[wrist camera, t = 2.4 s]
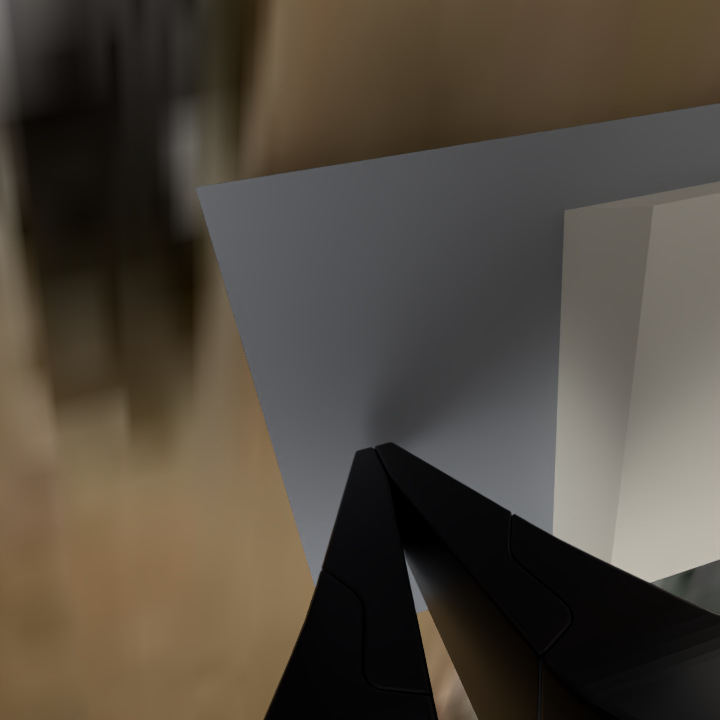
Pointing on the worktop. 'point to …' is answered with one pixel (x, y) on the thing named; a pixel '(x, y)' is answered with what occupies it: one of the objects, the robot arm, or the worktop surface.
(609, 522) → the block
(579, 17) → the worktop surface
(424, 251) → the deck
